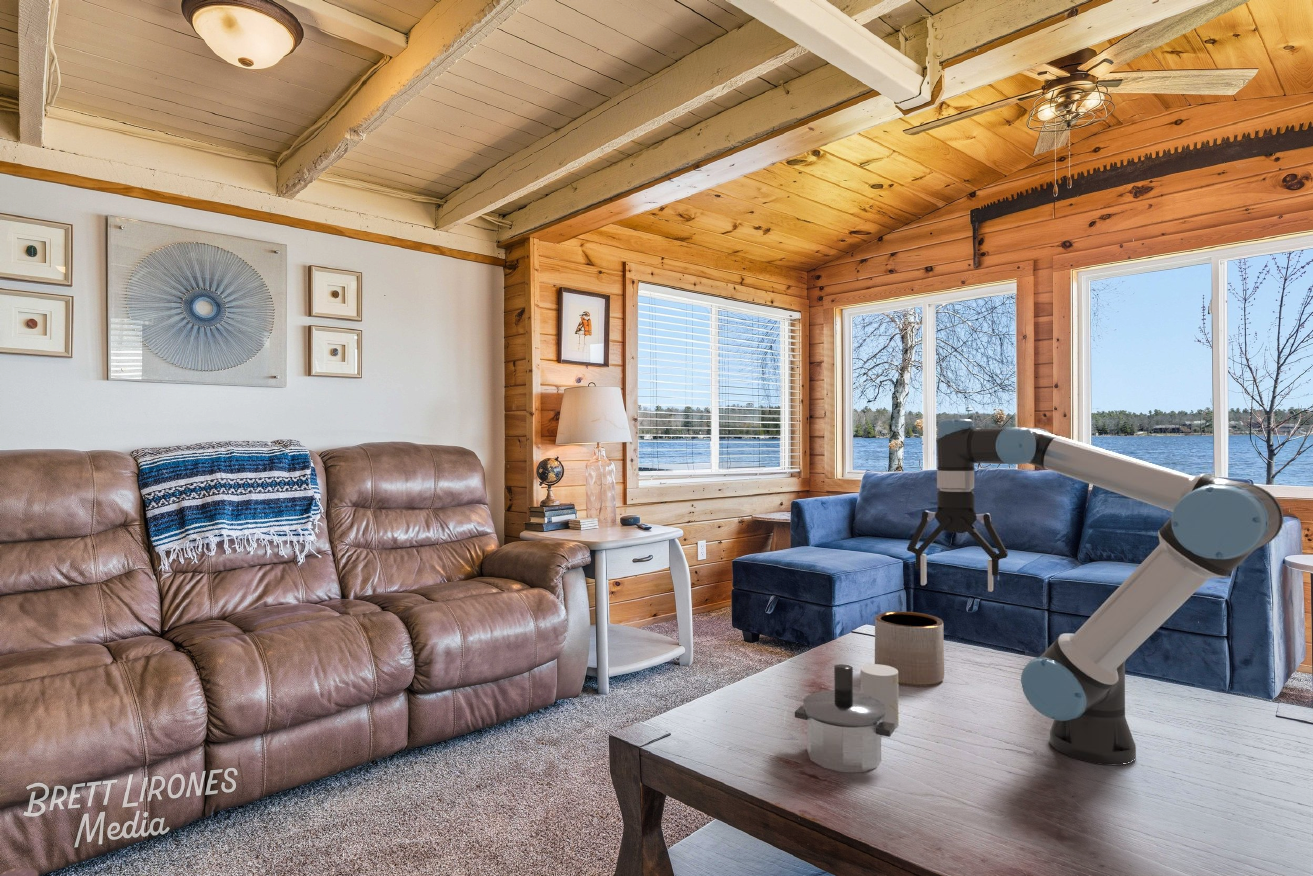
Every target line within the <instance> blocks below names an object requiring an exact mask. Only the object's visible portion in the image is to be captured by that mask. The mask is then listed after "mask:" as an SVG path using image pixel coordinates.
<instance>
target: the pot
mask: <svg viewBox="0 0 1313 876" xmlns="http://www.w3.org/2000/svg"><path fill="white" fill-rule="evenodd" d="M794 718H795V719H801V720H806V738H807V739H806V741H807V742H806V744H807V745H806V748H807V751H806V752H807V754H808V757H809V759H810V761H811V762H813V763H815V764H817V765H818V766H820V767H822V768H824V769H829V770H832V771H836V772H840V773H865V772H869V771H871V770H874V769H877V768H878V766H879V765H880V763H881V762H882V736H883V737H887V738H891V736H892V734H893V733H894V731H895V724H893V723H888V722H883V721H882V722H881V723H879V724H876V725H873V726H868V727H856V728H852V727H839V726H833V725H828V724H825V723H821V722H818V721H816V720H814V719H812V718H810V717H809V716H807V715H806V714H805V712H804V709H803V705H800V706H799V707H798V708H797V709H796V710H795V711H794Z"/></svg>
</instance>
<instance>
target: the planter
mask: <svg viewBox="0 0 1313 876" xmlns="http://www.w3.org/2000/svg"><path fill="white" fill-rule="evenodd" d="M944 639H945V638H944V621H943V620H942V619H941V618H939V617H938V616H934V615H930V614H928V613H927V614H926V613H920V612H912V611H887V612H880V613H879V614H876V615H875V616H874V664H880V665H886V666H890V667H893V668H895V669H897V670H898V685H901V686H906V687H908V686H909V687H931V686H934V685H937V684H939V683H941V682H942V681H943V680H944V678H945V650H944V649H945V648H944V647H945V646H944V645H945V644H944V643H945V641H944Z"/></svg>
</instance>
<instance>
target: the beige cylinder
mask: <svg viewBox="0 0 1313 876" xmlns="http://www.w3.org/2000/svg"><path fill="white" fill-rule="evenodd" d="M860 693H861V694H865V695H868V696H871V697H873V698H875V699H877V700H879V701H880V702H882V703H883V704H884V706H885V719H884V720H883V722H888V723H893V724H895V729H897V728H898V727H899V724H900V723H899V720H900V719H899V717H900V716H899V713H900V712H899V684H898V670H897V669H895V668H893V667H890V666H886V665H880V664H875V663H872V664H871V663H870V664H864V665H862V666H861V667H860Z"/></svg>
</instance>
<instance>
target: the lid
mask: <svg viewBox="0 0 1313 876" xmlns="http://www.w3.org/2000/svg"><path fill="white" fill-rule="evenodd" d="M853 669H854V668H853V666H852V665H850V664H839V663H838V664H836V665H834V668H833V674H834V675H833V676H834V678H833V679H834V680H833V681H834V682H833V685H834V686H833V687H834V688H833V690H821V691H816V692H812V693H810V694H808V695H807V696H805V697H804V699H803V702H802V703H803V705H802V706H803V709H804V712H805V714H806V715H807V716H809V717H810V718H812V719H814V720H816V721H818V722H821V723H825V724H828V725H833V726H839V727H852V728H856V727H868V726H873V725H876V724H879V723H881V722H882V721H883V720H884V719H885V706H884V704H883V703H882V702H880V701H879V700H877V699H875V698H873V697H871V696H868V695H865V694H861V692H855V691H854V690H853V689H854V683H853V678H854V675H853V674H854V672H853V671H854V670H853Z"/></svg>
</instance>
